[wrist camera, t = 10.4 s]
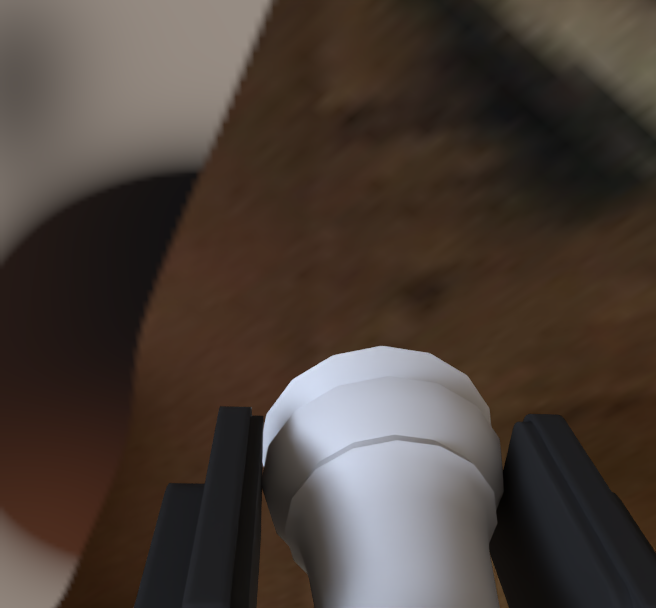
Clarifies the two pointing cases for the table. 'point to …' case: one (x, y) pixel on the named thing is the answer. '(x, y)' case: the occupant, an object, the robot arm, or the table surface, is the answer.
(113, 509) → the table surface
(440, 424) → the rook chess piece
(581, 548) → the robot arm
